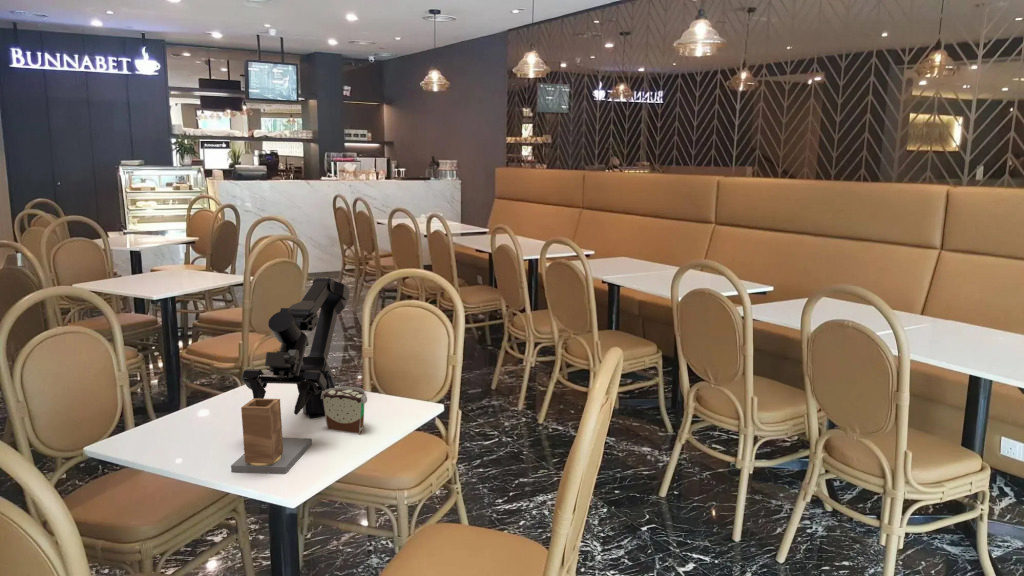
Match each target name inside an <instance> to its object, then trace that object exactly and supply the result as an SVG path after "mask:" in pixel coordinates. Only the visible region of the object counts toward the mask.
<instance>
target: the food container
mask: <svg viewBox="0 0 1024 576" xmlns="http://www.w3.org/2000/svg"><path fill="white" fill-rule="evenodd" d="M321 399H323V403H324V410H325V415H324V416H325V422H326V429H327V431H332V432H339V433H345V434H347V433H348V434H352V435H353V434H354V435H361V434H362V433H363V432H364V420H365V405H366V403H367V402H368V397H367V393H366V392H365V390H364V389H363V388H361V387H357V386H337V387H336V386H335V388H330V389H327V390H325V391H322V394H321Z"/></svg>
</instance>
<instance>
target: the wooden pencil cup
mask: <svg viewBox="0 0 1024 576" xmlns="http://www.w3.org/2000/svg"><path fill="white" fill-rule="evenodd" d="M240 409H241V411H240V412H241V424H242V436H243V438H242V439H243V454H244V453H245V463H267V464H272V463H273V462H274V461H275V460H276V459H277V458H278V457H279V456H280V455H281V454H282V453H283V440H282V438H283V429H282V427H283V425H282V413H281V411H282V410H281V398H264V399H261V398H252V399H251V400H249V401H248V402H247V403H245V404H244V405H243V406H241V408H240Z"/></svg>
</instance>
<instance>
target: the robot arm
mask: <svg viewBox="0 0 1024 576" xmlns="http://www.w3.org/2000/svg"><path fill="white" fill-rule="evenodd" d="M349 300H350V289H349V287H348V286H347V285H346V284H345V283H342V282H339V281H336V280H334V279H333V278H331V277H316V278H313V280H312V285H311V286H310V288H309V289H308V291H306V293H305V295H304V297H302V299H301V300H300V301H299V302H297V303H293V304H292V305H290V306H289V307H281V308H280V310H279V312H276V313H274V314H273V315H272V316H270V318H269V319H268V321H267V322H268V328H269V329H270V331H271V332H272V334H273V335H274V337H275V339H276V340H277V341H278V342H279V343H280V348H279V350H278V351H272V352H271V351H267V352H266V355H265V363H264V367H269V371H270V372H271V373H273V374H265V373H264V372H263V371H262V369H259V368H256V369H255V368H247V369H244V370H243V372H242V374H241V378H240V379H241V381H242V382H243V383H244V385H245V386H246V387H247V388H248V389H249V390H251V391H252V395H253V398H261V399H265V396H266V393H267V390H266V389H265V388H267V386H268V384H278V385H279V384H284V385H288V384H289V385H296V386H297V391H298V396H297V399H296V402H295V406H294V411H293V413H294V415H295V416H297V415H298V414H299V413H300V412H301V410H302V413H304V415H306V416H307V417H308V418H309V419H313V418H319V417H323V416H325V410H324V403H323V399H321V394H322V391H325V390H327V389H330V388H335V387H336V379H335V378H334V376H333V374H332V370H331V367H330V365H329V364H330V363H329V362H328V358H329V354H330V353H329V352H330V348H331V345H332V339H333V335H334V332H335V327H336V322H337V318H338V315H340V313H341V312H342V311H343V310H344V309H345V308H346V305H347V302H348V301H349ZM319 310H320V311H319ZM318 311H319V314H318ZM313 331H315V332H314V333H313V334H314V335H313V339H312V343H311V347H310V351H309V354H308V355H307V356H305V351H306V347H308V346H310V344H309V343H310V342H309V338H308V336H307V334H306V333H305V332H313ZM253 398H252V399H253Z"/></svg>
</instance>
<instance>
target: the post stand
mask: <svg viewBox="0 0 1024 576" xmlns="http://www.w3.org/2000/svg"><path fill="white" fill-rule="evenodd" d="M282 440H283V453H282V454H281V455H280V456H279V457H278V458H277V459H276V460H275V461H274V462H273V463H272V464H267V463H245V453H244V452H243V454H241V456H239V458H238V459H236V460H235V461H234V462H233V463H232V464H231V465H230V470H231V473H248V474H249V473H250V474H252V473H253V474H277V475H278V474H279V475H280V474H282V475H285V474H287V473H288V471H290V469H292V467H293V466H294V465H295V464H296V463H297V462H298V461H299V459H300V458H302V456H303V455H304V454H305V453H306V452H307V451H308V449H309V448H310V447H312V445H313V441H312V440H313V439H312V438H311V437H310V438H307V437H305V438H304V437H282Z"/></svg>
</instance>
